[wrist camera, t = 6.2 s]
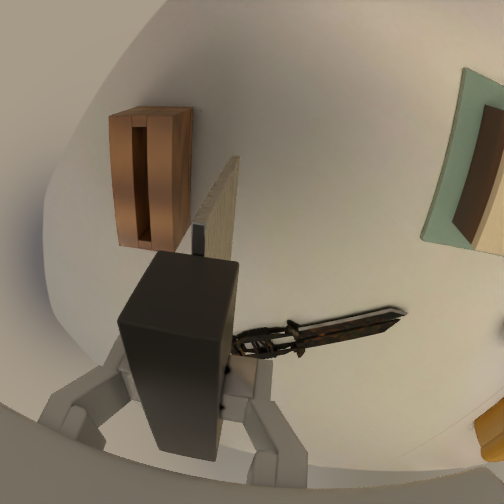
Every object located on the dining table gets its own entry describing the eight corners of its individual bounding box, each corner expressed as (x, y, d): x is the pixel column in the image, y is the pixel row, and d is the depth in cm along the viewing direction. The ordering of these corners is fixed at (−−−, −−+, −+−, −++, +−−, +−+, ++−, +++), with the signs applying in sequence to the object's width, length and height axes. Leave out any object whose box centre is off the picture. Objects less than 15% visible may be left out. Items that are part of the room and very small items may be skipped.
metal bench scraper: (210, 152, 14) (106, 285, 6) (262, 158, 14) (223, 306, 6) (204, 310, 20) (161, 457, 11) (242, 316, 20) (215, 468, 11)
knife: (407, 301, 38) (410, 308, 37) (403, 334, 41) (405, 341, 40) (222, 326, 43) (221, 333, 42) (235, 356, 46) (234, 363, 45)
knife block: (137, 106, 28) (108, 116, 23) (193, 107, 28) (173, 115, 23) (141, 219, 35) (119, 245, 30) (190, 224, 35) (174, 253, 30)
